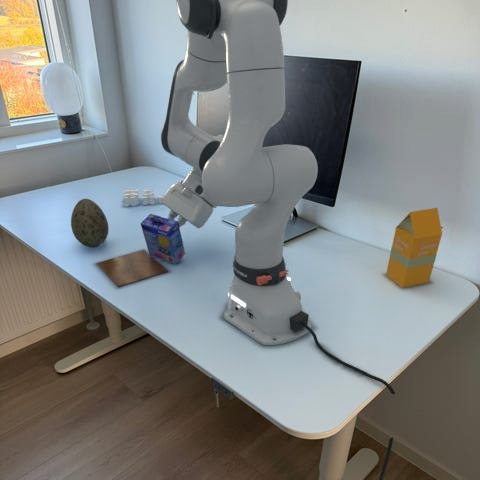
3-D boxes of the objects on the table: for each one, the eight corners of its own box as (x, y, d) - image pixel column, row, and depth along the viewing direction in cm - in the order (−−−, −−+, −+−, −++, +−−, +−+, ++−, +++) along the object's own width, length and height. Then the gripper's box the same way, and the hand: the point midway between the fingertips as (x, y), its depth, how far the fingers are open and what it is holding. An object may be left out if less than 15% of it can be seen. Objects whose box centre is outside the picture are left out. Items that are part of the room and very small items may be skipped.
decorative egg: (94, 235, 151) (85, 190, 142) (118, 242, 146) (111, 197, 138) (68, 248, 143) (57, 201, 135) (93, 256, 139) (84, 208, 130)
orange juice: (385, 274, 130) (399, 206, 118) (411, 269, 132) (427, 202, 121) (402, 288, 124) (419, 218, 112) (429, 282, 126) (448, 213, 115)
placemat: (143, 250, 142) (143, 249, 142) (167, 271, 131) (167, 270, 131) (96, 264, 135) (96, 262, 135) (118, 287, 124) (118, 286, 124)
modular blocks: (124, 206, 171) (122, 196, 169) (124, 200, 177) (123, 190, 175) (177, 203, 175) (176, 192, 172) (176, 196, 180) (175, 186, 178)
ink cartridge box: (148, 256, 138) (137, 216, 127) (158, 245, 141) (148, 205, 130) (176, 265, 135) (167, 224, 124) (185, 253, 138) (178, 213, 127)
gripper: (172, 173, 138) (146, 211, 139) (208, 193, 124) (179, 235, 125) (186, 184, 142) (161, 221, 144) (222, 205, 129) (194, 246, 130)
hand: (169, 228), depth 134 cm, fingers closed
